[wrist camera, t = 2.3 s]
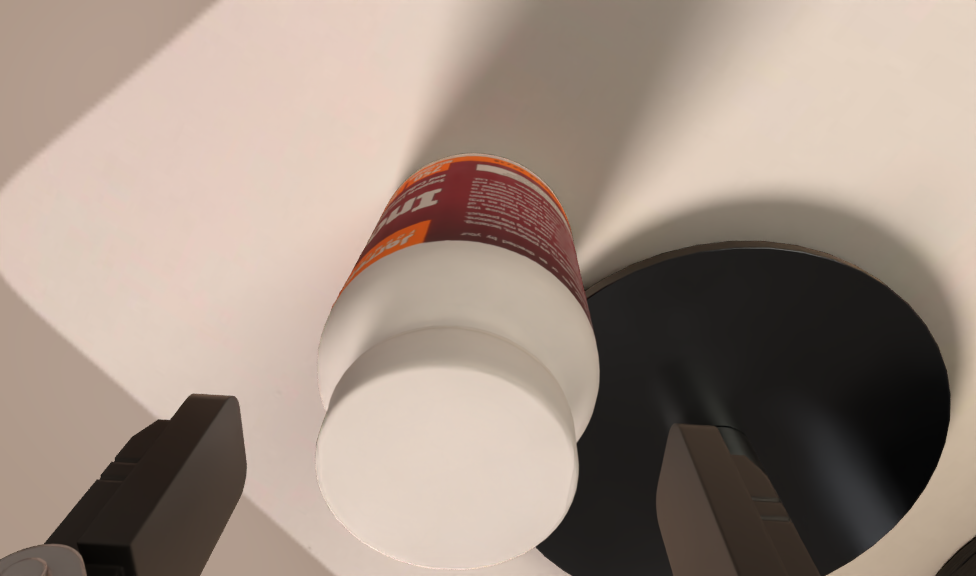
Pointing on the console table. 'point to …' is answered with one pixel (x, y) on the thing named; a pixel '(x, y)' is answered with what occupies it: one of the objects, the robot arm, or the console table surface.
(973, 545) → the trash can
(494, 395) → the pill bottle
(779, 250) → the bin lid
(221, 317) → the console table surface
